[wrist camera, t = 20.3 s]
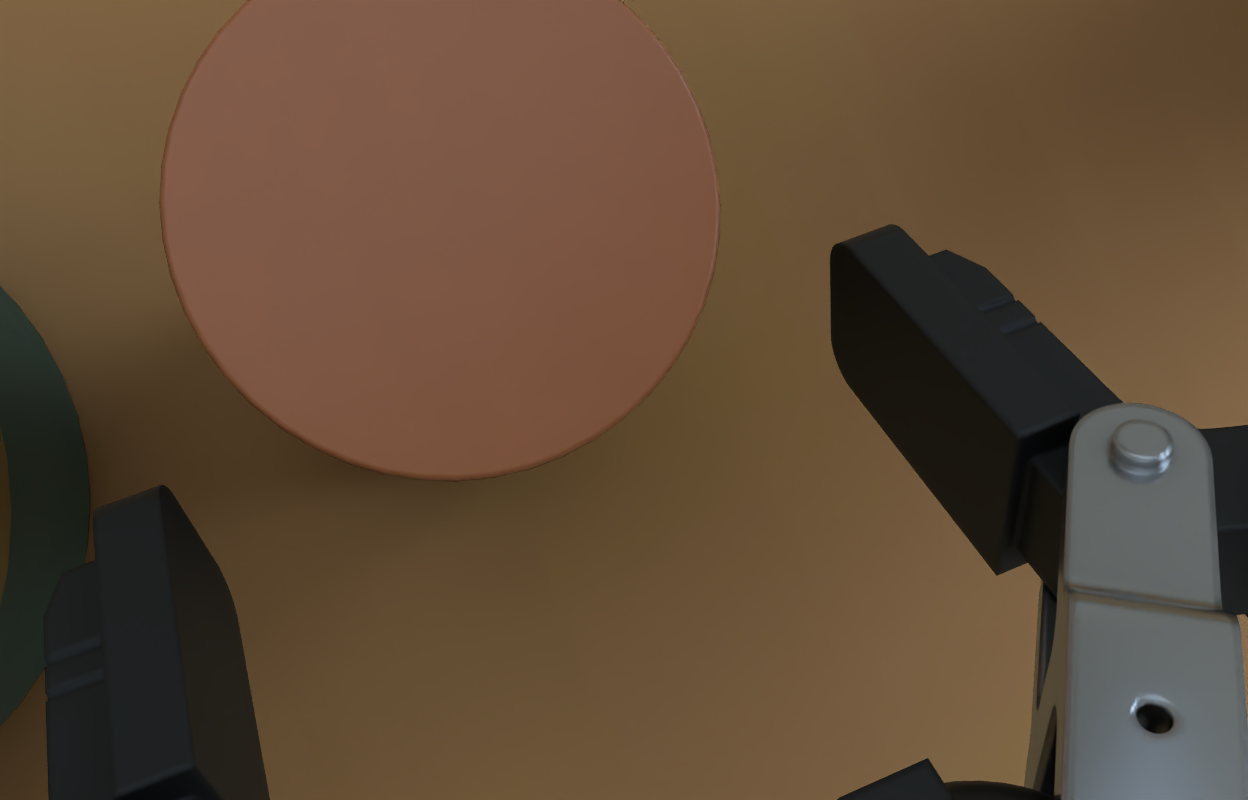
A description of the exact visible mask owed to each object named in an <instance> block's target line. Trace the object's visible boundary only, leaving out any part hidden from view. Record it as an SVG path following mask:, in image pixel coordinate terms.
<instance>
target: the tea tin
mask: <svg viewBox="0 0 1248 800" xmlns="http://www.w3.org/2000/svg"><path fill="white" fill-rule="evenodd" d="M159 203H160V215H161V227H162V239H163V244H164V248H165V253H166V257H167V262H168V266H169V270H170V275H171V278H172V281H173V284H174V286H175V289H176V292H177V294H178V297H179V300H180V302H181V305H182V308H183V310H184V313H185V315H186V316H187V318H188V320H189V322H190V324H191V326H192V328H193V329H194V331H195V333H196V335H197V337H198V339H199V341H200V343H201V344H202V346H203V347H204V349H205V350H206V352H207V353H208V354H209V356H210V357H211V358H212V360H213V361H214V363H215V364H216V365H217V367H218V368H219V370H220V371H221V372H222V374H223V375H224V376H225V378H226V379H227V380H228V381H229V382H230V383H231V384H232V385H233V386H234V387H235V388H236V389H237V390H238V391H239V392H240V393H241V394H242V395H243V396H244V398H245V399H246V400H247V401H248V402H249V403H250V404H251V405H252V406H254V407H255V408H256V409H257V410H259V411H260V412H261V413H262V414H264V415H265V416H266V417H267V418H269V419H270V420H271V421H272V422H274V423H275V424H276V425H277V426H278V427H280V428H281V429H283V430H284V431H286V432H288V433H289V434H291V435H293V436H294V437H296V438H297V439H299V440H301V441H302V442H304V443H306V444H307V445H309V446H310V447H312V448H314V449H316V450H319V451H321V452H323V453H325V454H328V455H330V456H332V457H334V458H337V459H339V460H341V461H343V462H346V463H348V464H351V465H355V466H358V467H361V468H365V469H368V470H371V471H375V472H378V473H382V474H386V475H392V476H398V477H405V478H411V479H417V480H435V481H465V480H475V479H485V478H494V477H499V476H503V475H507V474H511V473H516V472H520V471H524V470H529V469H532V468H534V467H537V466H540V465H542V464H545V463H548V462H550V461H553V460H556V459H558V458H561V457H564V456H565V455H567V454H569V453H571V452H573V451H575V450H577V449H578V448H580V447H582V446H584V445H586V444H588V443H590V442H592V441H593V440H595V439H597V438H598V437H599V436H601V435H602V434H604V433H605V432H606V431H608V430H609V429H611V428H612V427H613V426H615V425H616V424H618V423H619V422H620V421H622V420H623V419H624V418H625V417H626V416H628V415H629V414H630V413H631V412H632V411H633V410H634V409H635V408H636V407H637V406H638V405H639V404H640V403H641V402H642V401H643V400H645V399H646V398H647V397H648V396H649V395H650V394H651V392H652V391H653V390H654V389H655V387H656V386H657V385H658V384H659V383H660V381H661V380H662V379H663V378H664V376H665V375H666V374H667V373H668V372H669V370H670V369H671V368H672V366H673V365H674V363H675V361H676V360H677V358H678V357H679V355H680V353H681V352H682V350H683V348H684V347H685V345H686V344H687V342H688V340H689V339H690V337H691V334H692V332H693V330H694V328H695V326H696V323H697V321H698V319H699V317H700V314H701V312H702V310H703V308H704V305H705V302H706V298H707V295H708V292H709V288H710V285H711V281H712V278H713V275H714V270H715V264H716V258H717V251H718V245H719V238H720V206H721V204H720V194H719V184H718V173H717V167H716V163H715V158H714V154H713V149H712V145H711V141H710V136H709V133H708V131H707V128H706V125H705V122H704V120H703V117H702V114H701V112H700V109H699V106H698V103H697V101H696V99H695V97H694V95H693V94H692V92H691V90H690V88H689V86H688V84H687V82H686V80H685V78H684V76H683V74H682V72H681V71H680V69H679V68H678V66H677V65H676V63H675V62H674V60H673V59H672V57H671V56H670V55H669V53H668V52H667V50H666V49H665V47H664V46H663V44H662V43H661V42H660V40H659V39H658V38H657V37H656V36H655V35H654V34H653V33H652V31H651V30H650V29H649V28H648V27H647V26H646V25H645V23H644V22H643V21H642V20H641V19H640V18H639V17H638V16H637V15H636V14H635V13H634V12H633V11H632V10H631V9H629V8H628V7H627V6H626V5H625V4H624V3H623V2H622V1H620V0H248V1H247V2H246V3H244V4H243V5H242V6H241V7H240V8H239V10H238V11H237V12H236V13H235V14H234V15H233V16H232V17H231V18H230V19H229V20H228V21H227V22H226V24H225V25H224V26H223V27H222V28H221V29H220V30H219V31H218V32H217V34H216V35H215V37H214V38H213V40H212V41H211V42H210V44H209V45H208V47H207V48H206V50H205V51H204V52H203V54H202V55H201V57H200V58H199V60H198V61H197V63H196V65H195V67H194V69H193V71H192V73H191V75H190V77H189V79H188V81H187V82H186V84H185V86H184V88H183V90H182V92H181V94H180V97H179V100H178V103H177V106H176V109H175V112H174V115H173V118H172V120H171V123H170V126H169V129H168V134H167V140H166V145H165V150H164V155H163V160H162V165H161V183H160V202H159Z"/></svg>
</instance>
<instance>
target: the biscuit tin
mask: <svg viewBox="0 0 1248 800" xmlns="http://www.w3.org/2000/svg"><path fill="white" fill-rule="evenodd" d="M89 509H90V493H89V480H88V468H87V457H86V452H85V448H84V443H83V439H82V434H81V430H80V425H79V421H78V417H77V414H76V411H75V408H74V406H73V403H72V400H71V398H70V395H69V392H68V390H67V387H66V384H65V382H64V379H63V376H62V374H61V373H60V371H59V369H58V367H57V365H56V363H55V361H54V360H53V358H52V356H51V354H50V352H49V350H48V349H47V347H46V345H45V343H44V341H43V339H42V338H41V336H40V335H39V334H38V332H37V331H36V330H35V328H34V327H33V325H32V324H31V323H30V321H29V320H28V319H27V317H26V316H25V314H24V313H23V312H22V310H21V309H20V308H19V306H18V305H17V304H16V303H15V301H14V300H13V299H12V298H11V297H10V296H9V295H8V294H7V293H6V292H5V291H4V290H3V289H2V288H1V287H0V726H1V725H2V724H3V722H4V721H5V720H6V719H7V718H8V717H9V716H10V714H11V713H12V712H13V711H14V710H15V709H16V708H17V706H18V705H19V704H20V703H21V701H22V700H23V698H24V697H25V695H26V694H27V692H28V691H29V689H30V688H31V686H32V685H33V683H34V682H35V680H36V679H37V677H38V676H39V674H40V673H41V672H42V670H43V669H44V667H45V665H46V661H45V659H44V625H43V616H44V614H45V612H46V609H47V607H48V604H49V602H50V600H51V597H52V595H53V592H54V590H55V588H56V585H57V583H58V581H59V578H60V576H61V573H62V572H64V571H67V570H70V569H72V568H75V567H78V566H80V565H83V563H84V558H85V553H86V548H87V543H88V527H89Z"/></svg>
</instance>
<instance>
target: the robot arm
mask: <svg viewBox="0 0 1248 800" xmlns="http://www.w3.org/2000/svg"><path fill="white" fill-rule="evenodd" d="M830 288H831V341H832V347H833V352H834V355H835V359H836V361H837V364H838V367H839V369H840V371H841V373H842V375H843V377H844V379H845V381H846V382H847V384H848V385H849V387H850V388H851V389H852V391H853V392H854V393H855V394H856V396H857V397H858V398H859V400H860V401H861V402H862V403H863V405H864V406H865V407H866V409H867V410H868V411H869V412H870V414H871V415H872V416H873V418H874V419H875V420H876V421H877V423H878V424H879V425H880V427H881V428H882V429H883V430H884V432H885V433H886V434H887V436H888V437H889V438H890V439H891V441H892V442H893V443H894V444H895V446H896V447H897V448H898V450H899V451H900V452H901V453H902V455H903V456H904V457H905V459H906V460H907V461H908V462H909V464H910V465H911V466H912V468H913V469H914V470H915V471H916V473H917V474H918V475H919V477H920V478H921V479H922V480H923V482H924V483H925V484H926V486H927V487H928V488H929V489H930V491H931V492H932V493H933V494H934V496H935V497H936V498H937V500H938V501H939V502H940V503H941V505H942V506H943V507H944V509H945V510H946V511H947V512H948V514H949V515H950V516H951V518H952V519H953V520H954V521H955V523H956V524H957V525H958V527H959V528H960V529H961V530H962V532H963V533H964V534H965V536H966V537H967V538H968V539H969V541H970V542H971V543H972V544H973V546H974V547H975V548H976V550H977V551H978V552H979V553H980V555H981V556H982V557H983V559H984V560H985V561H986V562H987V564H988V565H989V566H990V568H991V569H992V570H993V571H994V573H995V574H996V575H999V574H1002V573H1004V572H1006V571H1009V570H1011V569H1014V568H1016V567H1018V566H1021V565H1023V564H1025V563H1029V564H1030V566H1031V567H1032V568H1033V569H1034V571H1035V572H1036V573H1037V574H1038V575H1039V577H1040V578H1041V579H1042V581H1041V586H1040V591H1039V603H1038V620H1037V637H1036V654H1035V671H1034V687H1033V704H1032V721H1031V733H1030V742H1029V750H1028V757H1027V764H1026V772H1025V781H1024V787H1021V786H1017V785H1012V784H1007V783H999V782H988V781H954V782H947V783H943V781H942V779H941V778H940V776H939V775H938V773H937V772H936V770H935V768H934V767H933V765H932V764H931V762H930V761H929V759H928V758H927V759H925V760H923V761H920V762H918V763H916V764H914V765H911V766H909V767H907V768H905V769H902V770H900V771H898V772H896V773H893V774H891V775H889V776H887V777H884V778H882V779H880V780H878V781H876V782H873V783H871V784H869V785H867V786H864V787H862V788H860V789H858V790H855V791H853V792H851V793H849V794H846V795H844V796H842V797H840V798H839V799H837V800H1248V724H1247V710H1246V697H1245V683H1244V669H1243V655H1242V642H1241V632H1240V626H1239V622H1238V618H1237V616H1236V615H1240V614H1245V615H1246V616H1247V617H1248V425H1243V426H1233V427H1224V428H1212V429H1197V428H1196V427H1195V426H1194V425H1192V424H1191V423H1190V422H1188V421H1187V420H1186V419H1184V418H1182V417H1180V416H1179V415H1177V414H1175V413H1173V412H1170V411H1168V410H1166V409H1163V408H1159V407H1156V406H1152V405H1147V404H1140V403H1123V402H1122V401H1121V400H1120V399H1119V398H1118V397H1117V396H1116V395H1115V394H1114V393H1113V392H1111V391H1110V390H1109V389H1108V388H1107V387H1106V386H1105V385H1104V384H1103V383H1102V382H1101V381H1100V380H1099V379H1098V378H1097V377H1096V376H1095V375H1094V374H1093V373H1092V372H1091V371H1090V370H1089V369H1088V368H1087V367H1086V366H1085V365H1084V364H1083V363H1082V362H1081V361H1080V360H1079V359H1078V358H1077V357H1076V356H1075V355H1074V354H1073V353H1072V352H1071V351H1070V350H1069V349H1068V348H1067V347H1066V346H1065V345H1064V344H1063V343H1062V342H1061V341H1060V340H1059V339H1058V338H1057V337H1056V336H1055V335H1053V334H1052V333H1051V332H1050V331H1049V330H1048V329H1047V328H1046V327H1045V326H1044V325H1043V324H1042V323H1041V322H1040V323H1037V321H1036V319H1035V316H1034V315H1033V314H1032V313H1031V312H1030V311H1029V310H1028V309H1027V308H1026V307H1025V306H1024V305H1023V304H1022V303H1021V302H1020V301H1019V300H1018V301H1015V300H1014V297H1013V294H1012V293H1011V292H1010V291H1009V290H1008V289H1007V288H1006V287H1005V286H1004V285H1003V284H1002V283H1001V282H1000V281H999V280H998V279H997V278H995V277H994V276H993V275H992V274H991V273H990V272H989V271H988V270H987V269H986V268H985V267H983V266H980V265H978V264H976V263H974V262H972V261H970V260H968V259H965V258H963V257H961V256H959V255H957V254H955V253H953V252H950V251H948V250H944V251H941V252H938V253H936V254H933V255H930V256H928V255H927V254H926V253H925V252H924V251H923V250H922V249H921V248H920V247H919V246H918V245H917V244H916V243H915V242H914V240H913V239H912V238H911V237H910V236H909V235H908V234H907V233H906V232H905V231H904V230H903V229H901V228H900V227H899V226H897V225H894V224H890V225H887V226H884V227H882V228H879V229H876V230H873V231H871V232H868V233H865V234H862V235H859V236H857V237H854V238H851V239H848V240H846V241H843V242H840V243H837V244H835V245H834V246H833V248H832V250H831V255H830ZM93 534H94V547H95V560H94V561H91V562H89V563H86V564H83V565H80V566H78V567H75V568H72V569H70V570H67V571H64V572H62V573H61V576H60V578H59V581H58V583H57V585H56V588H55V590H54V592H53V595H52V597H51V600H50V602H49V604H48V607H47V609H46V612H45V614H44V616H43V625H44V659H45V661H46V663H47V667H45V693H46V695H47V697H48V701H47V702H46V727H47V761H48V795H49V800H270V798H269V792H268V786H267V781H266V775H265V769H264V764H263V758H262V752H261V747H260V741H259V736H258V730H257V724H256V719H255V713H254V707H253V702H252V696H251V690H250V685H249V679H248V673H247V668H246V662H245V657H244V651H243V645H242V640H241V634H240V628H239V623H238V618H237V613H236V609H235V606H234V602H233V599H232V596H231V593H230V591H229V588H228V585H227V583H226V581H225V578H224V576H223V574H222V572H221V570H220V568H219V566H218V565H217V563H216V561H215V560H214V558H213V557H212V555H211V554H210V552H209V550H208V549H207V547H206V546H205V544H204V542H203V541H202V539H201V538H200V536H199V535H198V533H197V531H196V530H195V528H194V527H193V525H192V523H191V522H190V520H189V519H188V517H187V516H186V514H185V512H184V511H183V509H182V508H181V506H180V504H179V503H178V501H177V500H176V498H175V497H174V495H173V494H172V492H171V491H170V490H169V488H168V487H166V486H165V485H160V486H157V487H154V488H151V489H149V490H146V491H143V492H140V493H138V494H135V495H132V496H129V497H126V498H124V499H121V500H118V501H115V502H113V503H110V504H107V505H104V506H101V507H99V508H96V509H95V510H94V513H93Z"/></svg>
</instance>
